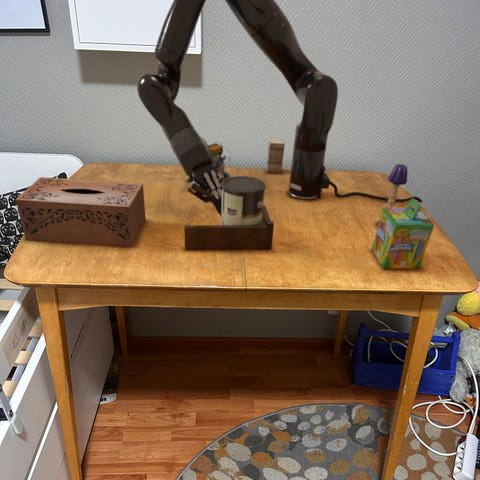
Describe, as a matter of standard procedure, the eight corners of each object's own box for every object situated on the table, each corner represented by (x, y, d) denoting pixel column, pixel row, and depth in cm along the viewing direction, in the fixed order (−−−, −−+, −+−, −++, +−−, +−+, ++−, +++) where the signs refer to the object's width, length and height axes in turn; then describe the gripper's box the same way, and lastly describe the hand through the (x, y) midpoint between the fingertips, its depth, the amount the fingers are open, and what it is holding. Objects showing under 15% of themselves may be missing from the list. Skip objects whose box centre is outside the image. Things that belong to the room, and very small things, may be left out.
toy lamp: (394, 225, 128) (411, 164, 118) (393, 232, 124) (410, 170, 114) (377, 221, 129) (391, 161, 119) (375, 228, 125) (390, 166, 115)
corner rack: (264, 226, 123) (266, 201, 119) (271, 250, 113) (274, 223, 109) (184, 226, 121) (184, 201, 117) (184, 250, 111) (184, 223, 106)
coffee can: (262, 230, 121) (266, 177, 113) (259, 249, 113) (264, 193, 104) (222, 227, 122) (224, 174, 113) (217, 246, 113) (218, 189, 105)
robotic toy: (168, 183, 144) (166, 133, 135) (212, 172, 154) (212, 124, 145) (194, 197, 137) (193, 144, 128) (238, 184, 146) (240, 134, 137)
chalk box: (370, 250, 115) (384, 193, 106) (406, 250, 116) (423, 193, 107) (382, 270, 108) (398, 209, 99) (420, 270, 109) (440, 210, 100)
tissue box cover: (25, 239, 111) (15, 199, 105) (48, 214, 123) (40, 177, 117) (133, 246, 111) (129, 207, 105) (145, 220, 123) (142, 183, 117)
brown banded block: (266, 173, 155) (268, 142, 149) (265, 169, 159) (268, 138, 153) (282, 174, 156) (285, 143, 150) (281, 169, 159) (284, 139, 153)
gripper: (178, 148, 108) (215, 214, 110) (217, 138, 117) (251, 199, 118) (163, 165, 114) (199, 227, 115) (201, 154, 122) (234, 212, 124)
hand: (225, 213), depth 117 cm, fingers closed
